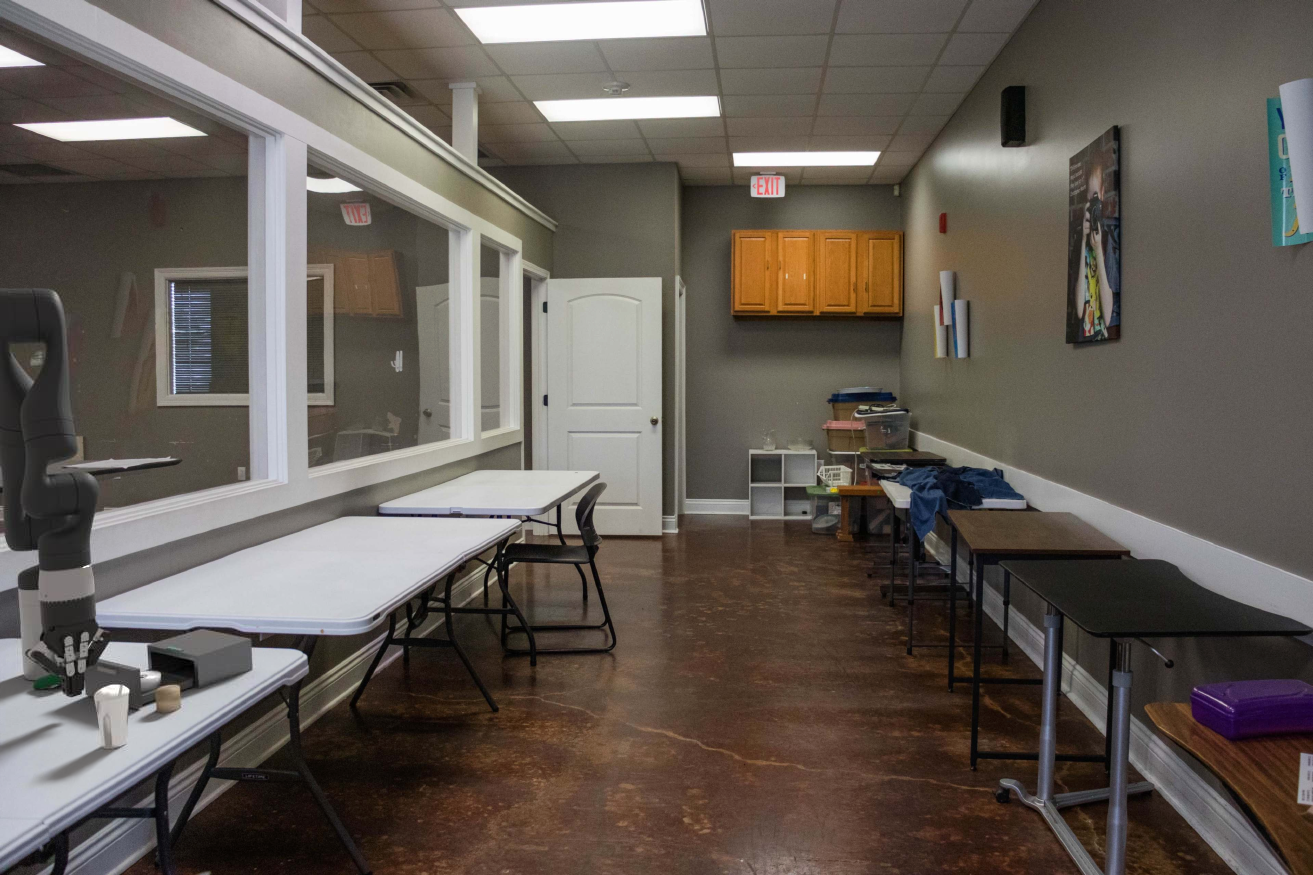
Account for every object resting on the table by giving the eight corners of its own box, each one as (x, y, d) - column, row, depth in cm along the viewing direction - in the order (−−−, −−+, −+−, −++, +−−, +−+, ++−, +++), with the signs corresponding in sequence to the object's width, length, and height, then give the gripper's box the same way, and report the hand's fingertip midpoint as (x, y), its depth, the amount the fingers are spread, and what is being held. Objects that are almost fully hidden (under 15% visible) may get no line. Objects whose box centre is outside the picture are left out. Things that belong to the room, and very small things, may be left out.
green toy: (41, 701, 152) (57, 681, 151) (29, 685, 153) (45, 665, 151) (88, 683, 161) (104, 664, 159) (77, 668, 162) (93, 648, 160)
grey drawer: (147, 674, 159) (145, 640, 158) (197, 687, 152) (195, 651, 152) (83, 695, 149) (80, 658, 148) (133, 710, 142) (131, 671, 141)
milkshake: (109, 754, 126) (105, 689, 125) (91, 746, 129) (87, 683, 128) (140, 743, 130) (137, 680, 129) (123, 735, 132) (119, 673, 132)
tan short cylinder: (151, 710, 142) (150, 690, 142) (172, 703, 146) (171, 683, 145) (165, 714, 141) (163, 694, 140) (185, 706, 144) (184, 686, 144)
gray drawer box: (203, 658, 169) (201, 627, 168) (252, 669, 162) (251, 637, 162) (148, 675, 159) (147, 643, 159) (199, 688, 152) (197, 654, 152)
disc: (114, 690, 149) (114, 678, 149) (148, 679, 155) (148, 668, 155) (135, 696, 147) (134, 684, 146) (168, 684, 152) (168, 673, 152)
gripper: (35, 606, 132) (42, 713, 133) (121, 586, 143) (127, 685, 145) (9, 600, 135) (16, 705, 136) (96, 582, 147) (102, 678, 148)
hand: (73, 695), depth 140 cm, fingers closed
